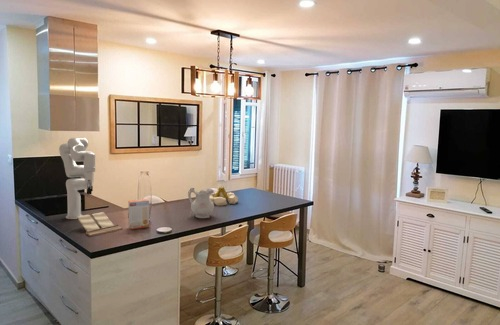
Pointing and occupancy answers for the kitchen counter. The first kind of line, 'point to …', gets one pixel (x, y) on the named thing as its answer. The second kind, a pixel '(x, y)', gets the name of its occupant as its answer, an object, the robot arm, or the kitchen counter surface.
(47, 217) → the kitchen counter surface
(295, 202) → the kitchen counter surface
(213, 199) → the campfire
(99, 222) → the plank far
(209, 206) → the ceramic pitcher
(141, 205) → the cracker box
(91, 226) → the plank near
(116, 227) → the laid floor strip
